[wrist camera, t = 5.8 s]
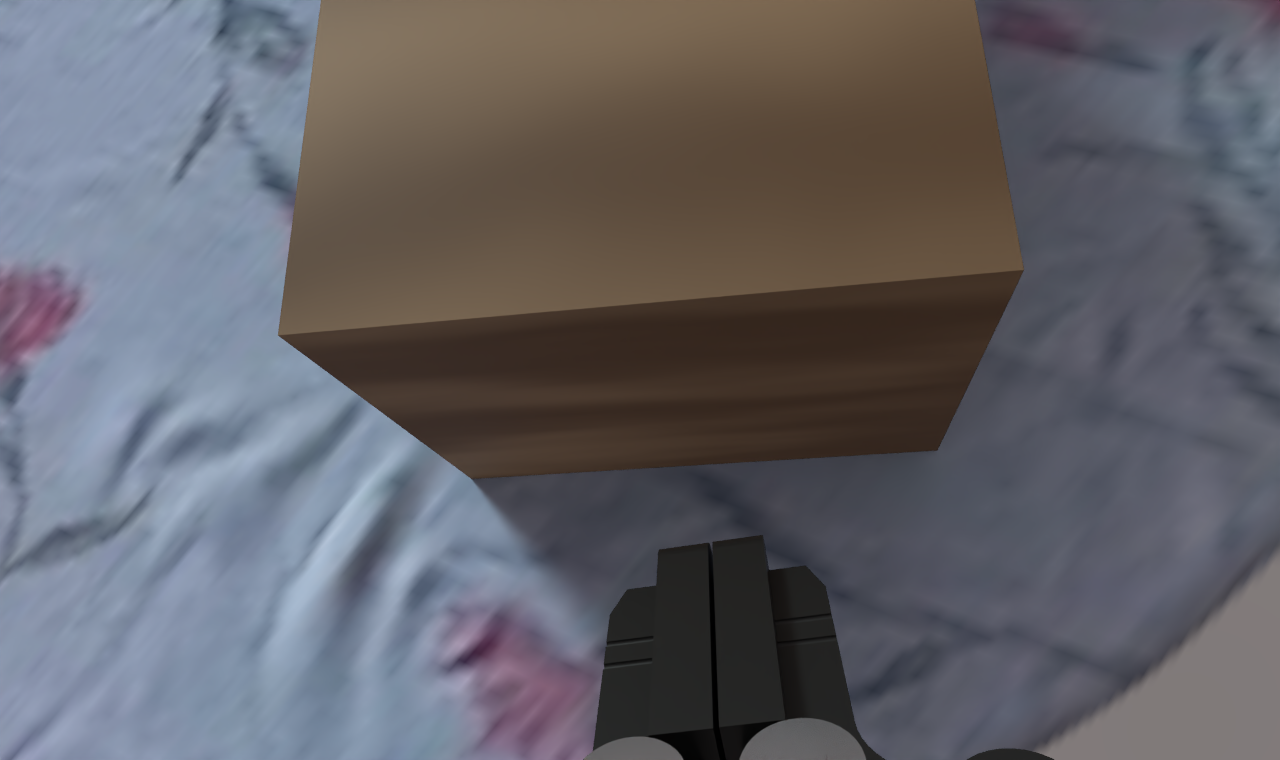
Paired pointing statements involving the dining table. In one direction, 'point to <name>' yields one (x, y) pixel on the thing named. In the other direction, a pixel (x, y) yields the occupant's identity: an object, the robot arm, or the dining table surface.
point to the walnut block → (651, 226)
